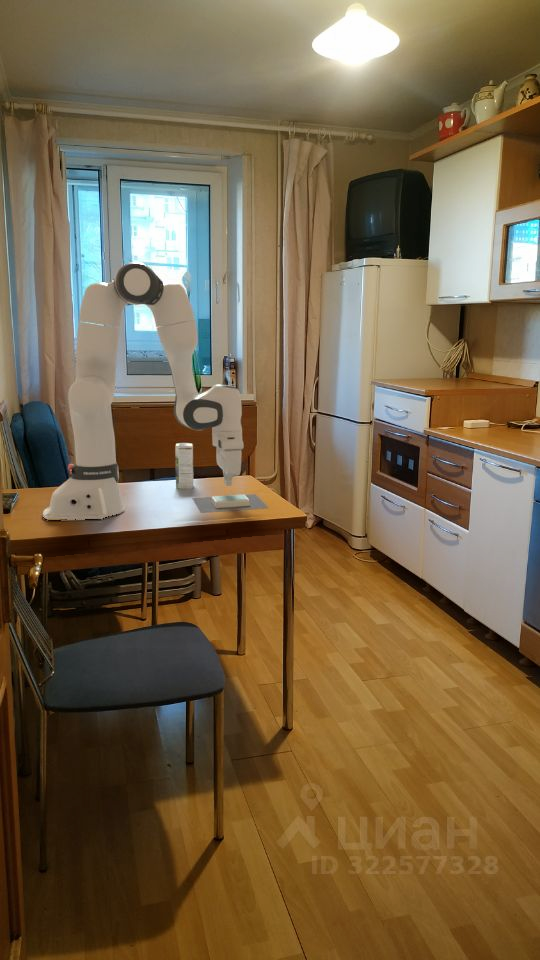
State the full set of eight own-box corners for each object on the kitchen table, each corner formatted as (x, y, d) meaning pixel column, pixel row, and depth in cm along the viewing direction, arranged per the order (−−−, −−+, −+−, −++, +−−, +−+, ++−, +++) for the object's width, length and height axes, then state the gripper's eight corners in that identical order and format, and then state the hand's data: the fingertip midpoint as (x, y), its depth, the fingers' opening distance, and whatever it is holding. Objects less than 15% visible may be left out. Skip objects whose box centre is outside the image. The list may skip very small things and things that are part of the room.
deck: (211, 502, 206) (215, 508, 199) (211, 496, 205) (215, 501, 198) (244, 500, 208) (249, 505, 201) (244, 494, 207) (249, 499, 201)
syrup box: (176, 485, 231) (174, 443, 228) (194, 485, 231) (192, 442, 228) (176, 489, 225) (174, 445, 222) (194, 488, 226) (192, 445, 223)
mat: (200, 513, 194) (200, 512, 194) (192, 499, 211) (192, 498, 211) (269, 509, 199) (269, 507, 199) (255, 495, 216) (255, 494, 216)
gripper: (211, 434, 211) (212, 478, 214) (222, 444, 192) (223, 492, 195) (231, 434, 213) (231, 477, 216) (244, 443, 194) (245, 491, 196)
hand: (228, 484), depth 205 cm, fingers closed
